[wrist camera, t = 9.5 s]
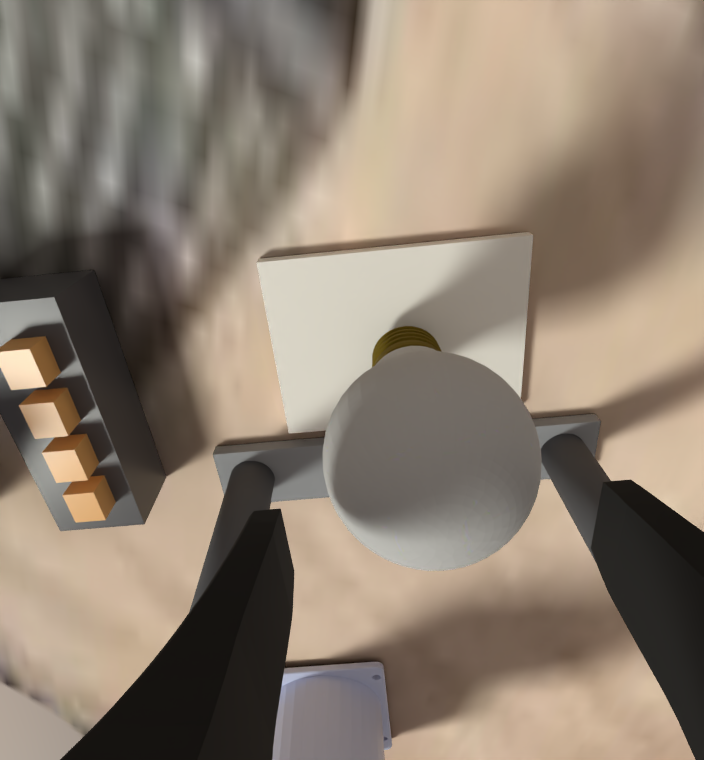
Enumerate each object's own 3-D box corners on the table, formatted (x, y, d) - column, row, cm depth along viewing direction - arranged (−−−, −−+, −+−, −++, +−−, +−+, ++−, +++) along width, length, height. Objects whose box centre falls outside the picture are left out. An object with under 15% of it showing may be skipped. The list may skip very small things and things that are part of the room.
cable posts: (586, 467, 24) (695, 632, 17) (229, 497, 25) (180, 670, 17) (594, 413, 23) (718, 569, 15) (215, 446, 23) (155, 612, 16)
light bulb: (436, 245, 18) (518, 383, 10) (502, 369, 21) (614, 567, 12) (301, 325, 20) (264, 507, 11) (377, 431, 22) (396, 648, 14)
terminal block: (166, 477, 24) (135, 542, 20) (91, 483, 24) (48, 549, 21) (93, 269, 19) (37, 308, 16) (0, 278, 19) (-76, 319, 16)
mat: (516, 407, 22) (519, 413, 22) (289, 427, 23) (288, 433, 22) (528, 231, 19) (533, 235, 18) (258, 258, 19) (256, 262, 19)
